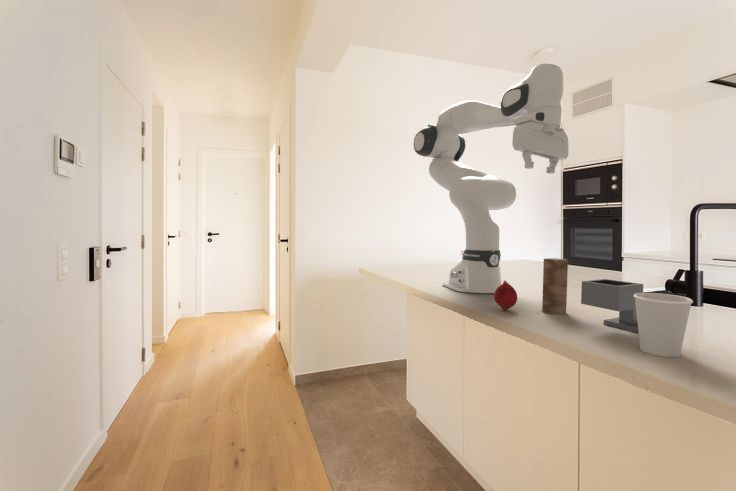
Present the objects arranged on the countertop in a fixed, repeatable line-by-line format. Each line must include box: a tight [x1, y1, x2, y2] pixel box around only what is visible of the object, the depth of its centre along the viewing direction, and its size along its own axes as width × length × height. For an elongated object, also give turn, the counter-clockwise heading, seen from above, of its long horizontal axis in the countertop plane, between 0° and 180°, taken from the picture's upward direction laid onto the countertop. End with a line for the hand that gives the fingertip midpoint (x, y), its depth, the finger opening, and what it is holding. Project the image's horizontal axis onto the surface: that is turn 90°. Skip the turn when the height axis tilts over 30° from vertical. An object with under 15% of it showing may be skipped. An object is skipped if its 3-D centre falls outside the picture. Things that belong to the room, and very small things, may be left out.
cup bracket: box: [580, 278, 644, 334], centre depth 81 cm, size 8×14×10 cm, turn 115°
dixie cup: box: [633, 292, 694, 358], centre depth 66 cm, size 8×8×10 cm
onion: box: [493, 279, 518, 311], centre depth 99 cm, size 6×6×8 cm
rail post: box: [541, 257, 569, 316], centre depth 96 cm, size 4×4×14 cm
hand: (539, 171), depth 105 cm, fingers open, 8 cm apart
